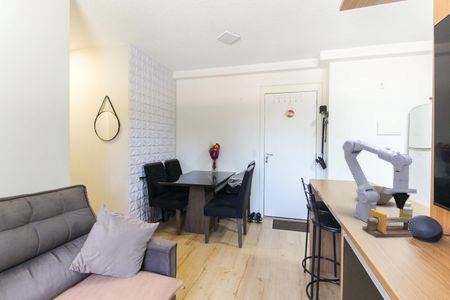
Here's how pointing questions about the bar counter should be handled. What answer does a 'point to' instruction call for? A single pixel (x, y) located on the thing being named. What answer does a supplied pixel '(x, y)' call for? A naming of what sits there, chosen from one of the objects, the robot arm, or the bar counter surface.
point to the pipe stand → (389, 227)
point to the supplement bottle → (406, 210)
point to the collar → (382, 219)
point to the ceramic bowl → (382, 194)
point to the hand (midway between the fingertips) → (399, 208)
